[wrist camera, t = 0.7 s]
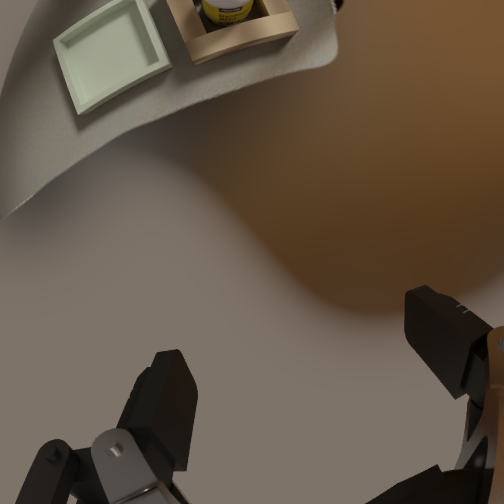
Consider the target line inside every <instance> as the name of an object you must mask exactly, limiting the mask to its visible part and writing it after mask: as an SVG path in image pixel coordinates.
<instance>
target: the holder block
mask: <svg viewBox="0 0 504 504" xmlns="http://www.w3.org/2000/svg"><path fill="white" fill-rule="evenodd" d="M166 1H167V3H168V5H169V7H170V10H171V12H172V14H173V17H174V19H175V21H176V24H177V26H178V28H179V31H180V33H181V35H182V38H183V40H184V43H185V45H186V47H187V50H188V52H189V54H190V57H191V59H192V61H193V63H194V65H198V64H200V63H203V62H205V61H208V60H211V59H214V58H216V57H219V56H222V55H225V54H228V53H231V52H234V51H237V50H241V49H244V48H247V47H251V46H254V45H258V44H261V43H265V42H269V41H273V40H277V39H281V38H286V37H290V36H294V35H295V34H296V33H297V32H298V31H299V30H300V29H299V27H298V25H297V23H296V20H295V18H294V16H293V14H292V12H291V9H290V7H289V5H288V3H287V1H286V0H255V1H256V3H257V5H258V7H259V9H260V11H261V13H262V16H263V17H262V18H258V19H254V20H250V21H247V22H243V23H239V24H236V25H233V26H229V27H226V28H223V29H220V30H217V31H214V32H211V33H208V34H207V33H206V31H205V28H204V26H203V24H202V21H201V19H200V17H199V15H198V12H197V10H196V8H195V6H194V4H193V1H192V0H166Z"/></svg>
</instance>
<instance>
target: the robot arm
mask: <svg viewBox="0 0 504 504" xmlns="http://www.w3.org/2000/svg"><path fill="white" fill-rule="evenodd" d="M404 331H405V336H406V339H407V341H408V343H409V344H410V345H411V347H412V348H413V349H414V350H415V351H416V352H417V354H418V355H419V356H420V357H421V358H422V360H423V361H424V362H425V363H426V364H427V366H428V367H429V368H430V369H431V370H432V372H433V373H434V374H435V375H436V376H437V378H438V379H439V380H440V381H441V383H442V384H443V385H444V386H445V388H446V389H447V390H448V391H449V392H450V394H451V395H452V396H453V398H454V399H457V398H459V397H461V396H462V395H464V394H466V393H467V394H468V395H469V396H470V397H469V400H468V403H467V413H466V422H465V430H464V437H463V444H462V449H461V452H460V455H459V458H458V460H457V463H456V466H455V468H454V470H450V471H444V472H441V470H440V468H439V466H438V465H435V466H433V467H431V468H429V469H427V470H425V471H423V472H421V473H419V474H417V475H415V476H413V477H411V478H408V479H406V480H404V481H402V482H399V483H397V484H396V485H394V486H393V487H391V488H390V489H388V490H387V491H385V492H384V493H382V494H380V495H379V496H377V497H376V498H374V499H372V500H371V501H369V502H367V503H365V504H504V326H500V327H496V328H492V327H491V326H490V325H488V324H487V323H486V322H485V321H483V320H482V319H481V318H479V317H478V316H477V315H475V314H474V313H473V312H471V311H468V309H467V308H466V307H465V306H463V305H462V306H461V304H460V303H459V302H458V301H456V300H455V299H454V298H452V297H449V296H446V295H443V294H440V293H439V294H438V293H437V292H435V291H434V290H432V289H431V288H429V287H428V286H427V285H423V286H420V287H417V288H415V289H412V290H409V291H407V292H406V294H405V319H404ZM197 400H198V390H197V386H196V383H195V380H194V378H193V376H192V374H191V372H190V370H189V368H188V366H187V364H186V362H185V359H184V357H183V355H182V353H181V352H180V350H178V349H175V350H169V351H162V352H157V353H156V355H155V358H154V360H153V362H152V365H151V367H147V368H146V369H145V370H144V371H143V372H142V373H141V374H140V375H139V376H138V378H137V380H136V382H135V384H134V387H133V390H132V392H131V393H130V398H129V399H128V400H127V403H126V405H125V407H124V410H123V412H122V415H121V417H120V419H119V422H118V424H117V427H116V428H114V429H110V430H107V431H105V432H103V433H101V434H100V435H99V436H98V437H97V438H96V439H95V440H94V442H93V444H92V446H91V447H89V448H83V449H77V450H72V448H71V447H70V446H69V445H68V444H67V443H66V442H65V441H63V440H60V439H54V440H51V441H49V442H47V443H45V444H44V445H43V446H42V447H41V448H40V449H39V451H38V453H37V455H36V457H35V459H34V461H33V464H32V466H31V468H30V470H29V472H28V474H27V477H26V479H25V481H24V484H23V486H22V488H21V491H20V493H19V496H18V498H17V500H16V503H15V504H67V500H68V497H69V494H71V495H72V496H74V497H75V498H76V499H77V502H76V504H191V503H190V502H189V500H188V499H187V498H186V497H185V495H184V494H183V493H182V492H181V490H180V489H179V487H178V486H177V485H176V483H175V482H174V481H173V480H172V477H173V472H174V471H186V470H187V463H188V457H189V450H190V443H191V437H192V431H193V424H194V418H195V412H196V406H197Z"/></svg>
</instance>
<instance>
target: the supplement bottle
mask: <svg viewBox="0 0 504 504" xmlns="http://www.w3.org/2000/svg"><path fill="white" fill-rule="evenodd" d="M202 3H203V10H204V13H205V15H206V17H207V18H208V19H209V20H210V21H211V22H213V23H215V24H217V25H222V26H230V25H235V24H238V23H240V22H242V21H243V20H244V19H245V18H246V17H247V16H248V14H249V12H250V10H251V7H252V4H253V0H202Z"/></svg>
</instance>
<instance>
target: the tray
mask: <svg viewBox="0 0 504 504" xmlns="http://www.w3.org/2000/svg"><path fill="white" fill-rule="evenodd" d="M53 43H54V46H55V50H56V53H57V56H58V59H59V63H60V66H61V69H62V72H63V75H64V78H65V81H66V84H67V86H68V89H69V92H70V95H71V97H72V100H73V103H74V105H75V108H76V111H77V113H78V115H81V114H88V113H89V112H91V111H92V110H94V109H96V108H97V107H99V106H100V105H102V104H104V103H105V102H107V101H109V100H110V99H112V98H114V97H115V96H117V95H119V94H121V93H122V92H124V91H126V90H128V89H130V88H131V87H133V86H135V85H137V84H139V83H141V82H143V81H145V80H147V79H149V78H151V77H153V76H155V75H157V74H159V73H161V72H163V71H166V70H168V69H170V68H172V67H173V66H172V63H171V61H170V59H169V56H168V54H167V51H166V49H165V47H164V44H163V42H162V39H161V37H160V34H159V32H158V30H157V27H156V25H155V22H154V20H153V17H152V15H151V13H150V10H149V8H148V5H147V3H146V0H113V1H111V2H110V3H108V4H106V5H104V6H103V7H101V8H99V9H98V10H96V11H94V12H93V13H91V14H89V15H88V16H86V17H85V18H83V19H82V20H80V21H79V22H77V23H76V24H74V25H73V26H71V27H70V28H68V29H67V30H66V31H64V32H63V33H62V34H60V35H59V36H58V37H56V38H55V39H54V40H53Z"/></svg>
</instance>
